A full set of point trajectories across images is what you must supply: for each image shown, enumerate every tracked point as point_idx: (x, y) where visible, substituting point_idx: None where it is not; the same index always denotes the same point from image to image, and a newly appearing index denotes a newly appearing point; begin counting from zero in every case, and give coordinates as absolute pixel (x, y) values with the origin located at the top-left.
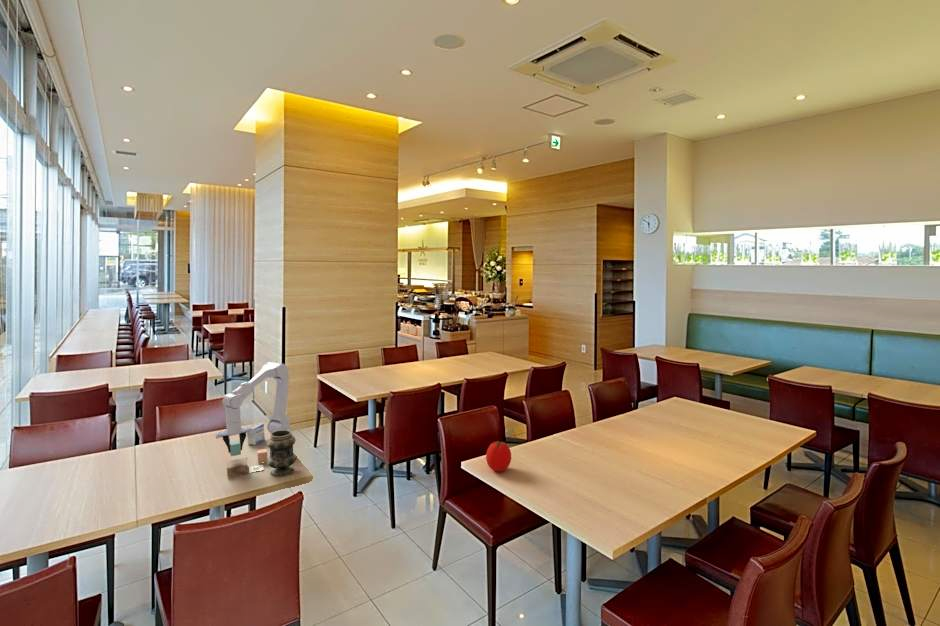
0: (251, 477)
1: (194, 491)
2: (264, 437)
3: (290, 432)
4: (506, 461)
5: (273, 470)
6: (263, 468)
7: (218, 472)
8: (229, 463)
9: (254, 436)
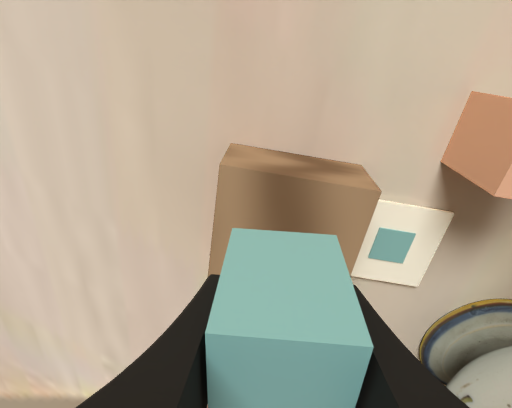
0: None
1: (68, 311)
2: None
3: None
4: None
5: (452, 336)
6: (426, 267)
7: (169, 154)
8: (230, 225)
9: None
